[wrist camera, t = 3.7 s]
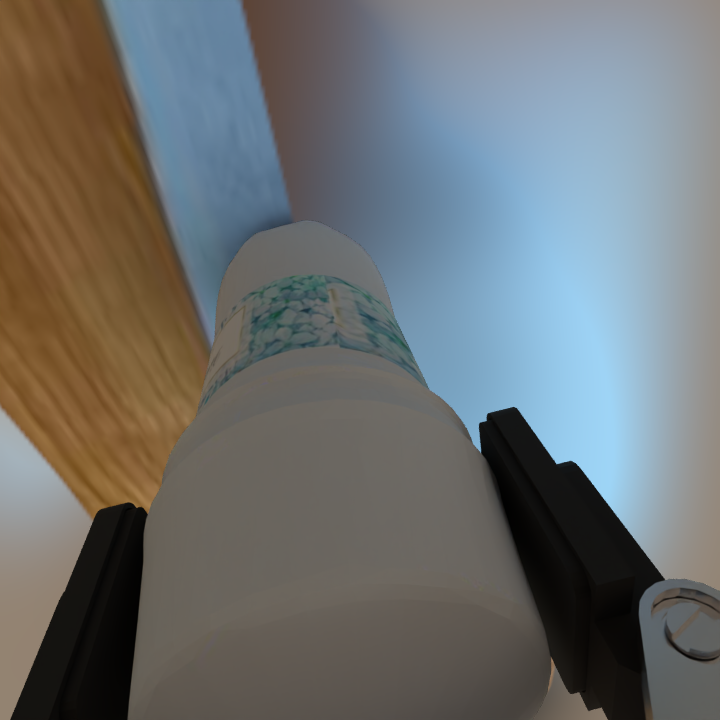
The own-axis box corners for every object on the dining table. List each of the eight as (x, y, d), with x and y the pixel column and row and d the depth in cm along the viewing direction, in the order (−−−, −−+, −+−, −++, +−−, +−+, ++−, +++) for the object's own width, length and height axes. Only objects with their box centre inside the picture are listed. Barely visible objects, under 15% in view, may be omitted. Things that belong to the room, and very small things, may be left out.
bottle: (222, 191, 19) (-257, 1271, 2) (394, 216, 21) (1004, 976, 3) (215, 349, 22) (9, 1297, 5) (365, 361, 24) (603, 1141, 6)
